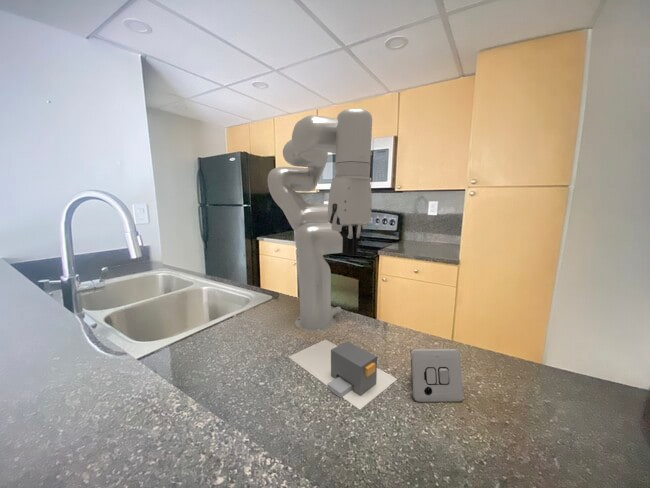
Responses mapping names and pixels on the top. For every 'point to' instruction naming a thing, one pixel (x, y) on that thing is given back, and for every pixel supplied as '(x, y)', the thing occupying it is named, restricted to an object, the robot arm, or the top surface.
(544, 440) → the top surface
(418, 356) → the electrical switch
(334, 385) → the plate
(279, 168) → the robot arm
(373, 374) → the block
